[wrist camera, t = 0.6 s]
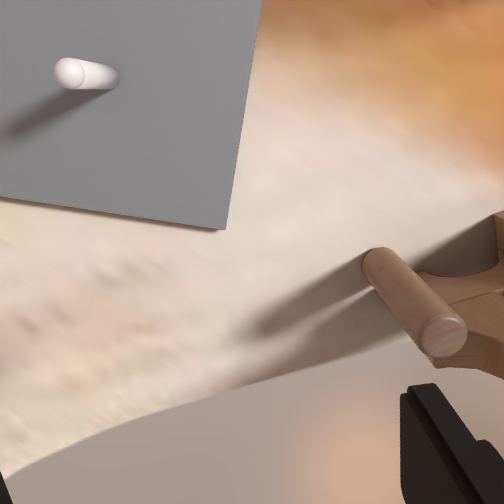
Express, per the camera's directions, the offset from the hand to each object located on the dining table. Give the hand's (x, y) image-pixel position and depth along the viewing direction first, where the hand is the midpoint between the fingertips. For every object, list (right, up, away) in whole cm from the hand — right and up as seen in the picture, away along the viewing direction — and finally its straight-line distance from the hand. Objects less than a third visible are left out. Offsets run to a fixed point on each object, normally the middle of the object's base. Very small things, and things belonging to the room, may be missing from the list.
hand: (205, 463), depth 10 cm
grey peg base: (-9, +18, +23) cm, 31 cm away
